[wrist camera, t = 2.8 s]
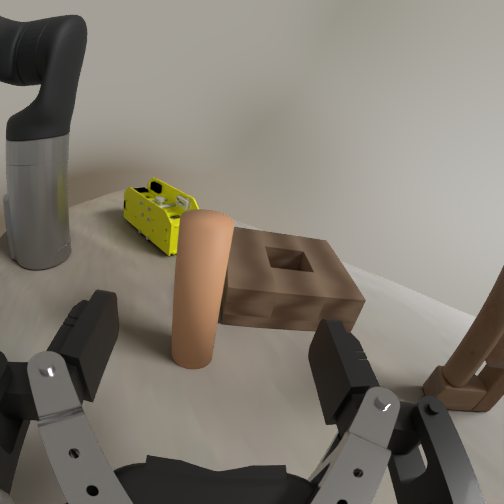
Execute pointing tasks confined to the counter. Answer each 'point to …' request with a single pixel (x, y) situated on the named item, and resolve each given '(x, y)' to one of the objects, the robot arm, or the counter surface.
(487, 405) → the wooden block
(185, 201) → the yellow toy chassis
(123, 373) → the counter surface
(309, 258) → the socket block
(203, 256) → the pin
